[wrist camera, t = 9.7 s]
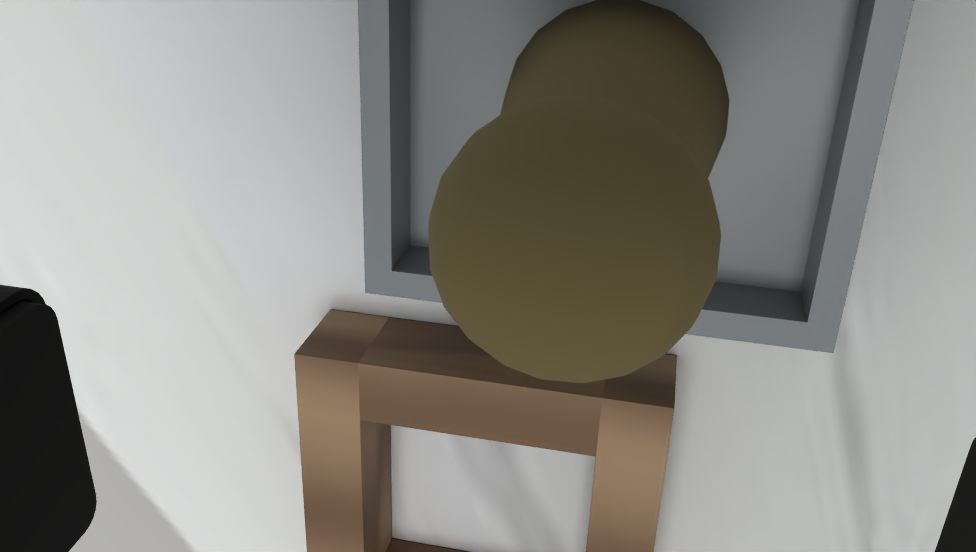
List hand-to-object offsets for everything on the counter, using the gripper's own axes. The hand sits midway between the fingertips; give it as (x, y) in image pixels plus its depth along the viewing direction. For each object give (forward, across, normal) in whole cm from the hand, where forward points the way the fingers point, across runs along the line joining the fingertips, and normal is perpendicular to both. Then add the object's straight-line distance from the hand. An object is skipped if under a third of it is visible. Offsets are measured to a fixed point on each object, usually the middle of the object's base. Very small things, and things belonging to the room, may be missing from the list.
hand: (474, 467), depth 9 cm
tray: (+18, 0, +1) cm, 18 cm away
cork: (+17, 0, +1) cm, 17 cm away
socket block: (+17, +3, +14) cm, 22 cm away
